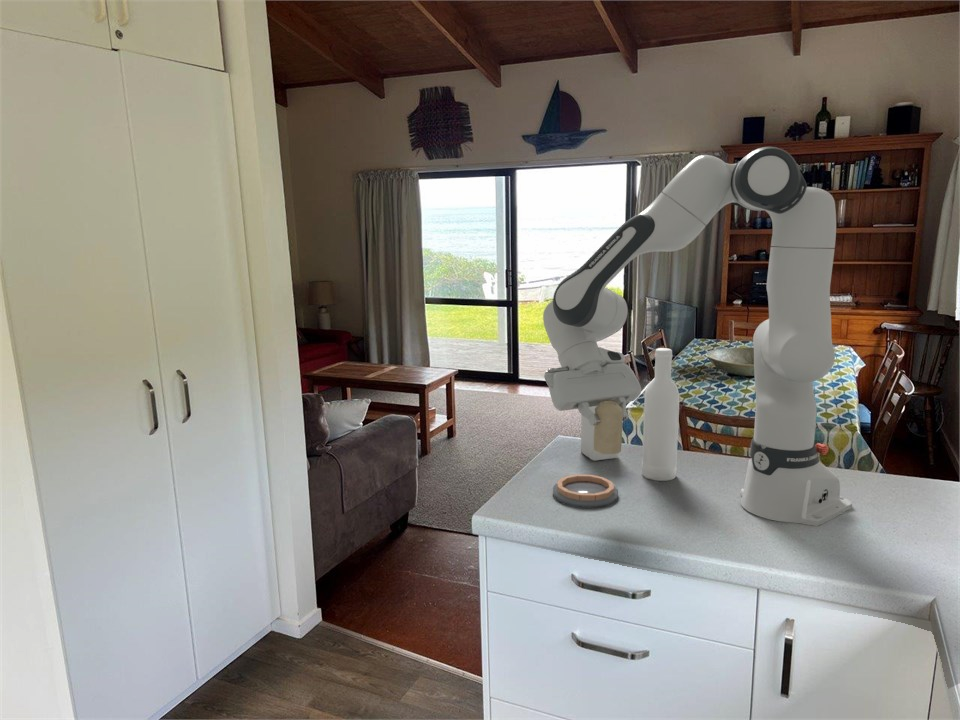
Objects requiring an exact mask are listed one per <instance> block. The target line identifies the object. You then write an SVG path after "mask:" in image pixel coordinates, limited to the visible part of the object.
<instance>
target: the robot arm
mask: <svg viewBox="0 0 960 720" xmlns="http://www.w3.org/2000/svg"><path fill="white" fill-rule="evenodd" d="M729 204H730V205H734V206H736V207H740V208H742V209H745V210H748V211H759V212H760V211H765V212H766V213H767V214H768V215H769V217H770V219H771V224H772V234H771V235H772V236H771V241H770V248H769V249H770V251H769V257H768V258H769V259H768V269H767V277H766V278H767V279H766V292H767V301H768V303H767V304H768V318H767V319H766V320H764V321H762V322H760V323H759V325H758V326H757V327H756V329H755V331H754V334H753V337H752V344H753V346H752V347H753V369H754V370H753V372H754V388H755V389H754V390H755V414H754V426H753V427H754V429H753V433H754V434H753V437H752V439H751V440H750V441H751V442H750V445H749V448H750V449H749V450H750V453H749V456H750V459H749V460H748V462H747V463H748V464H747V469H746V474H745V480H744V486H743V487H742V488H741V489H740V493H739V494H740V496H741V499H740V500H741V501H740V505H741V506H742V508H744V509H745V510H746V511H747V512H749V513H751V514H753V515H756V516H758V517H760V518H764V519H767V520H772V521H776V522H783V523H785V522H786V523H796V524H797V523H798V524H799V523H800V524H805V525H809V526H820V525H822V524H824V523H826V522H828V521H829V520H832V519H833V518H836V517H837V516H839V515H842V514H843V513H845V512H847V511H849V510H850V509H852V508H853V502H851V501H850V499H848V498H847V497H845V496H843V495H841V494H840V493H841V484H840V480H839V479H840V478H839V477H838V476H837V475H836V474H835V473H833V472H832V471H831V470H830V469H828V467H826V466H825V465H824V464H823V463H822V462H821V461H820V459H819V458H820V457H819V454H821V455H823V456H825V455H827V454H828V452H829V450H830V449H829V448H830V447H829V446H828V445H827V444H822V443H820V442H817V443H816V444H815V432H816V425H817V424H816V422H817V412H818V410H817V409H818V407H817V406H818V405H817V401H816V397H815V392H814V383H813V382H816V381H819V380H820V379H823V378H824V377H825V376H826V375H828V373H830V371H831V369H832V368H833V366H834V363H835V359H836V355H835V354H836V352H835V347H834V344H833V341H832V311H831V281H832V273H833V266H834V256H835V250H836V249H835V247H836V238H837V213H836V212H837V211H836V201H835V199H834V197H833V195H832V194H831V193H830V192H829V191H827V190H825V189H822V188H819V187H814V186H808V184H807V182H806V179H805V178H804V176H803V174H802V172H801V170H800V168H799V164H798V163H797V161H796V160H795V158H794V157H793V156H792V155H791V154H790V153H789V152H788V151H787V150H785V149H783V148H781V147H780V148H779V147H776V146H764V147H759V148H756V149H754V150H752V151H751V152H749V153H748V154H747V155H745V156H744V157H743V158H742V159H741V160H740V161H738V162H736V163H728V162H725V161H724V160H722V158H719V157H717V156H714V155H711V154H701V155H698V156H696V157H694V158H693V159H692V160H690V161H689V162H688V163H687V164H686V165H685V166H684V167H683V168H681V170H680V171H679V172H678V173H676V175H675V176H674V177H673V178H672V179H671V180H670V181H669V183H668V184H666V186H665V187H664V188H663V189H662V191H661V192H660V193H659V194H658V195H657V197H655V199H654V200H653V201H652V202H651V203H650V204H648V206H647V207H646V208H644V209H643V210H642V211H641V212H639V213H638V214H636V215H633V216H632V217H630V218H629V219H627V220H626V221H625V222H624V223H622V225H620V227H618V228H617V229H616V231H614V233H613V234H612V235H611V236H610V237H609V238H608V239H606V240H605V242H604V243H603V244H602V245H601V246H600V247H599V248H598V249H597V250H596V251H595V252H594V253H593V254H592V255H591V256H590V257H589V258H588V260H587V261H585V263H583V265H581V266H580V268H578V269H576V270H575V271H574V272H572V273H571V274H569V275H568V276H566V277H565V278H564V279H562V280H561V281H560V283H558V285H557V286H556V289H555V290H554V293H553V297H552V300H551V301H550V302H548V304H546V306H545V308H544V310H543V314H542V318H543V319H542V320H543V326H544V330H545V331H546V335H547V337H548V340H549V342H550V344H551V346H552V348H553V350H555V352H556V354H557V359H558V362H559V364H560V367H557V368H556V367H551V368H548V369H547V370H546V371H545V372H544V376H543V377H544V381H545V382H546V384H547V386H548V391H549V395H550V399H551V401H552V404H553V406H554V408H555V409H556V410H557V411H559V412H562V411H570V410H578V412H579V414H580V415H581V414H582V415H583V416H584V417H586V418H587V419H588V420H589V423H590V425H591V426H593V425H598V424H599V423H600V418H599V416H598V414H594V413H593V412H592V411H591V410H590V409H589V407H593V406H598V405H599V404H600V403H601V402H602V403H603V402H604V401H613V402H615V403H616V404H617V405H619V406H620V407H621V408H622V409H623V422H626V421H627V420H628V419H629V414H628V412H627V404H628V402H634V401H636V399H637V398H638V397H639V396H640V395H641V393H642V386H641V383H640V381H639V379H638V378H637V376H636V374H635V373H634V371H633V369H632V368H631V367H630V366H629V365H628V364H626V363H625V361H626V357H625V355H624V354H623V353H622V352H619V351H615V350H610V349H606V348H603V347H599V345H598V342H600V341H602V340H605V339H607V338H608V337H610V336H613V335H614V334H616V333H618V332H619V331H620V330H621V329H623V327H624V325H625V324H626V322H627V319H628V316H629V307H628V303H627V301H626V299H625V298H624V297H623V296H622V295H620V294H619V293H617V292H615V291H613V290H611V289H609V288H608V287H607V286H608V285H609V284H610V283H611V282H612V281H613V279H614V278H616V276H617V275H618V274H619V273H620V272H621V271H623V269H624V268H625V267H626V266H628V264H629V263H630V262H632V261H633V260H634V259H635V258H637V257H638V256H641V255H644V254H648V253H654V252H655V253H656V252H662V253H663V252H664V253H665V252H667V253H669V252H676V251H679V250H683V249H684V248H686V247H687V246H688V245H690V243H692V242H693V241H694V240H695V239H697V237H698V236H699V235H700V234H701V232H702V231H703V230H704V229H705V228H706V226H707V225H708V224H709V223H710V221H711V220H712V219H713V218H714V217H715V215H716V214H718V212H719V211H720V210H722V209H723V208H724V207H725V206H726V205H729ZM818 453H819V454H818Z"/></svg>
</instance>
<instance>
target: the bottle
mask: <svg viewBox="0 0 960 720" xmlns="http://www.w3.org/2000/svg"><path fill="white" fill-rule="evenodd" d="M672 359H673V350H672V349H671V348H667V347H666V348H665V347H658V348H656V349H655V353H654V361H655V363H654V378H653V380H652V381H650V382H649V383H648V384H647V386H646V388H645V391H644V405H643V407H644V408H643V432H642V433H643V434H642V435H643V436H642V459H641V475H642V476H643V477H644V478H646V479H648V480H652V481H658V482H667V481H668V482H669V481H672V480H674V479H675V478H676V477H677V469H678V464H677V461H678V460H677V459H678V458H677V457H678V441H679V440H678V439H679V438H678V437H679V422H680V421H679V417H680V416H679V415H680V392H679V389H678V386H677V384H676V383H675V382H674V381H673V380H672V364H673V360H672Z"/></svg>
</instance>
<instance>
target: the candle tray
mask: <svg viewBox="0 0 960 720" xmlns="http://www.w3.org/2000/svg"><path fill="white" fill-rule="evenodd" d="M552 496H553V498H554V499H555V500H556V501H557V502H559V503H562V504H564V505H567V506H570V507H575V508H580V509H581V508H583V509H595V508H596V509H597V508H604V507H607V506H611V505H613V504H615V502H617V500H619V489H618V488H617V487H616V486H615V485H614V482H613V481H611V480H609V479H607V478H605V477H603V476H598V475H595V474H594V475H593V474H571V475H566V476H563V477H562V478H560V479H559V480H557V483H555V484H554V485H553V487H552Z"/></svg>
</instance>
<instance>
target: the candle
mask: <svg viewBox="0 0 960 720" xmlns="http://www.w3.org/2000/svg"><path fill="white" fill-rule="evenodd" d="M595 414H598V416H599V418H600V423H599V424H598V425H594V450H595V451H596V452H599V453H603V454H616V453H621V452H622V446H623V445H622V443H623V441H622V440H623V422H624V421H623V409H622V408H621V407H620V406H619V405H617V404H616V403H615V402H613V401H604V402H603V403H602V402H601V403H600V404H599V405H598V406H597V407H596V408H595Z"/></svg>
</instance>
